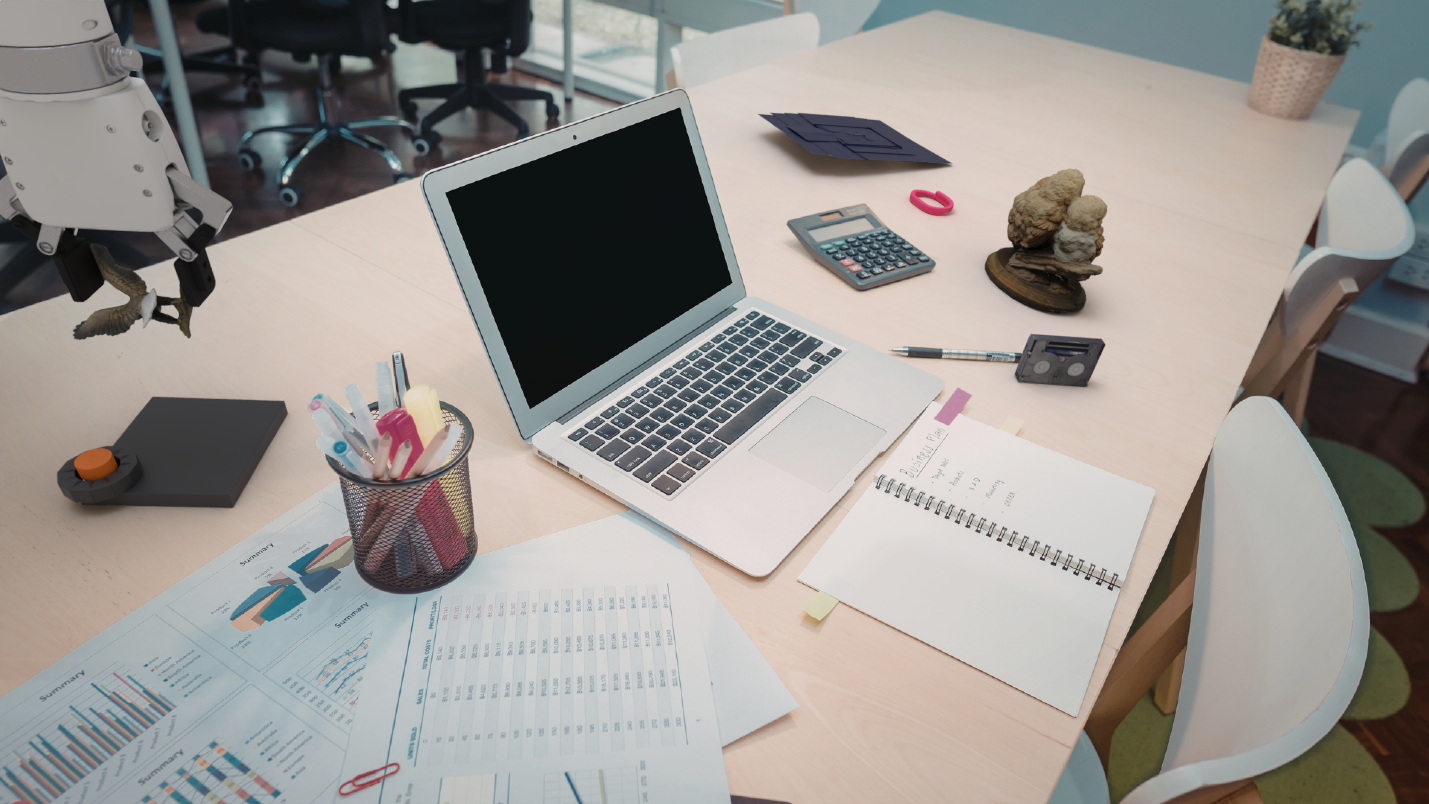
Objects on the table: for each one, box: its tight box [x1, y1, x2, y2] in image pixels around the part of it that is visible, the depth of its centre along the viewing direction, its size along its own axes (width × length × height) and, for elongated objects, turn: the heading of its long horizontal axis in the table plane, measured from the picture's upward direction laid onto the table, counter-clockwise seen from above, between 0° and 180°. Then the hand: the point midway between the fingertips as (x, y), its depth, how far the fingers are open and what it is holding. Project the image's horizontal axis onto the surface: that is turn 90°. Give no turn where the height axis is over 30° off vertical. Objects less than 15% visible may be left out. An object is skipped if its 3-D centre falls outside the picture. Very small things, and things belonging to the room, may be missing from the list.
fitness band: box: [909, 189, 955, 216], centre depth 133 cm, size 8×6×2 cm
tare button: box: [74, 447, 117, 481], centre depth 67 cm, size 3×3×1 cm
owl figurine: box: [984, 168, 1108, 314], centre depth 109 cm, size 18×12×17 cm, turn 19°
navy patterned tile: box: [757, 112, 954, 165], centre depth 151 cm, size 24×30×4 cm
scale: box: [56, 396, 289, 509], centre depth 72 cm, size 13×14×3 cm
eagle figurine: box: [72, 243, 194, 341], centre depth 63 cm, size 8×7×9 cm
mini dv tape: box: [1014, 333, 1106, 388], centre depth 93 cm, size 8×2×6 cm, turn 90°
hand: (146, 294), depth 64 cm, fingers closed on eagle figurine, 7 cm apart
